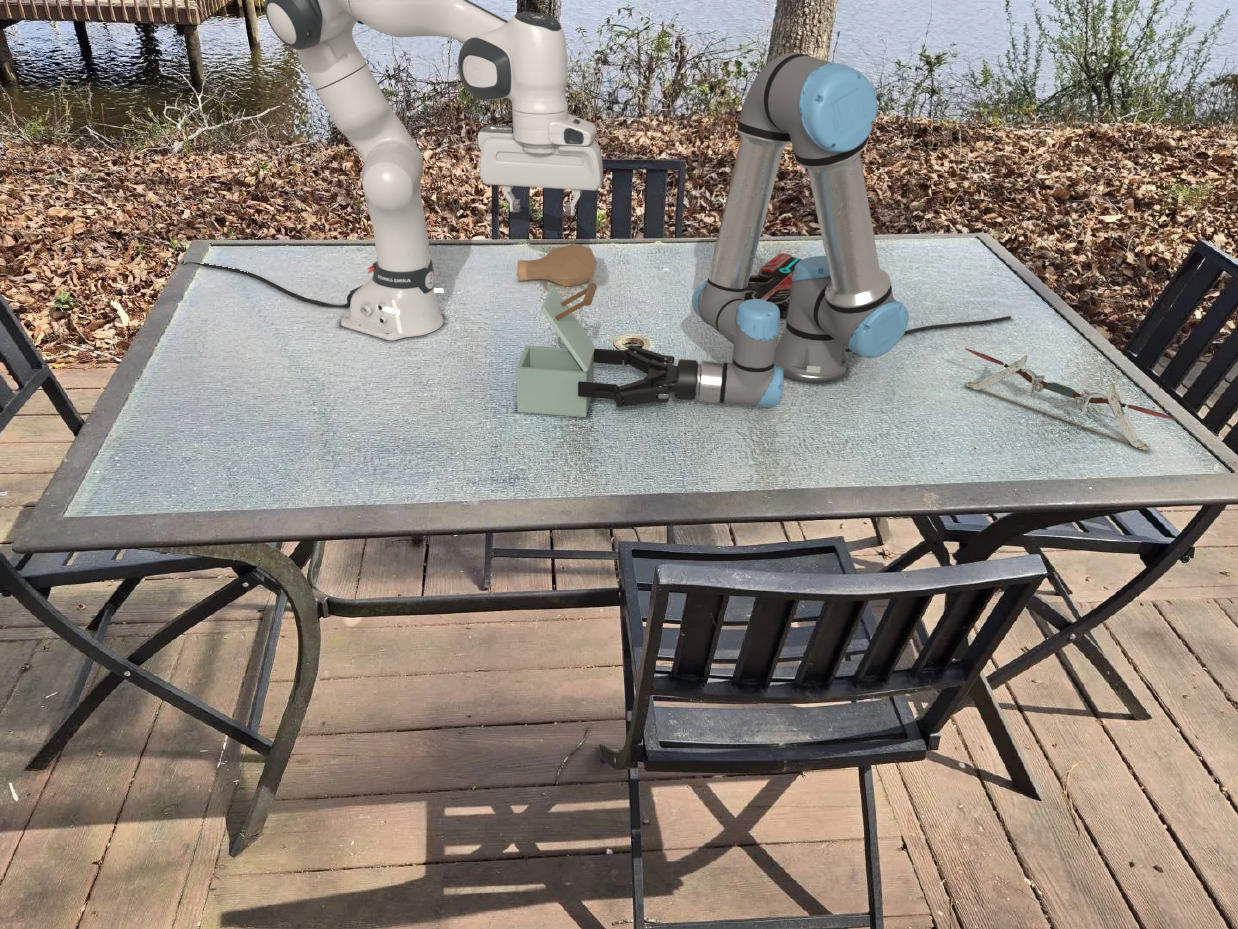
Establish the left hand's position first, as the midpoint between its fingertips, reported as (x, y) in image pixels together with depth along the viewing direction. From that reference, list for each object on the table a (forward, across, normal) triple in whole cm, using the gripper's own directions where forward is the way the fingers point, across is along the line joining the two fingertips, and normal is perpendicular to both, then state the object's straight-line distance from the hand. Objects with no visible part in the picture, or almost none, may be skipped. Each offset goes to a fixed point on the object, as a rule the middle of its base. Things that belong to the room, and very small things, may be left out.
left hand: (542, 212), depth 148 cm
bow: (+37, +96, +9) cm, 104 cm away
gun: (+37, +44, +62) cm, 85 cm away
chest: (+36, +2, 0) cm, 37 cm away
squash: (+36, -8, +60) cm, 70 cm away
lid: (+21, +4, 0) cm, 22 cm away
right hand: (+30, +7, 0) cm, 30 cm away
